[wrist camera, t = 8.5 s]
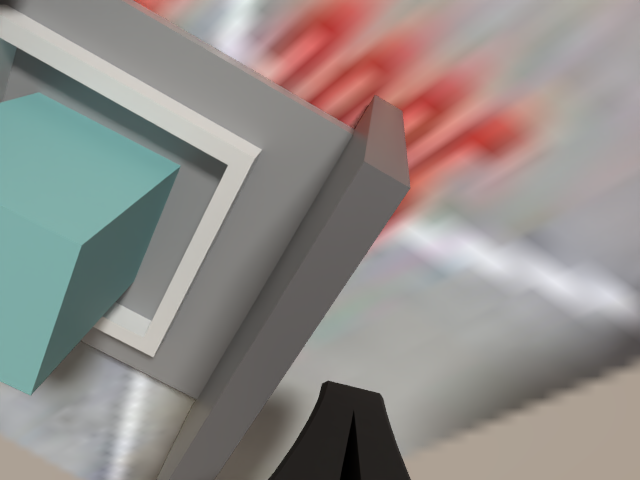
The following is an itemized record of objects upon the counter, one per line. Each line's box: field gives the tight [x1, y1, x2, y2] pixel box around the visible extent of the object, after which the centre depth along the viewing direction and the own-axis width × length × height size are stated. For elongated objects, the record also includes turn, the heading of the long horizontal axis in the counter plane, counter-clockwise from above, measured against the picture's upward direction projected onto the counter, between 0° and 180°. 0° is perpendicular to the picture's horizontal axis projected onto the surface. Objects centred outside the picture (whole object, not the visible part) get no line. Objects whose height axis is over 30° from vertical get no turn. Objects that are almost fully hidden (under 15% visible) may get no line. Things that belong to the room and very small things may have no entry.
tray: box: [0, 0, 410, 480], centre depth 13 cm, size 10×12×6 cm
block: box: [0, 92, 181, 395], centre depth 12 cm, size 4×4×5 cm
